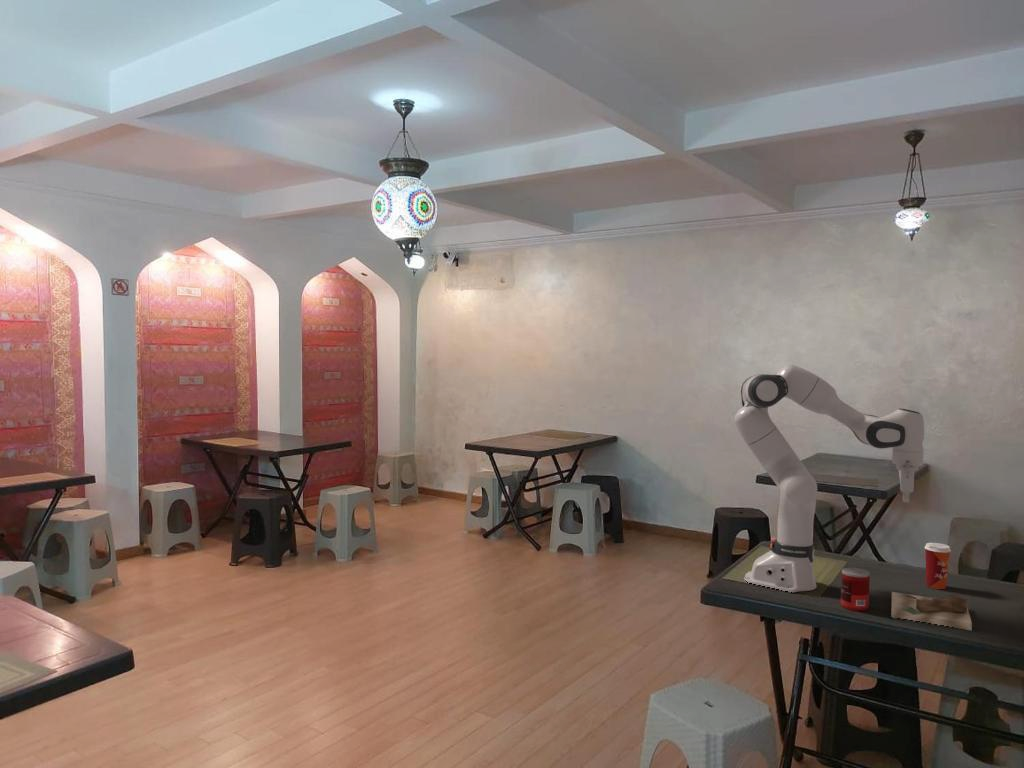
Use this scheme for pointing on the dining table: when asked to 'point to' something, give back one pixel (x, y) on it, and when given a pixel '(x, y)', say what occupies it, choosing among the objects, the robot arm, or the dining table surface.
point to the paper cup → (937, 564)
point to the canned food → (855, 589)
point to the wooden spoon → (943, 604)
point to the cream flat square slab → (927, 612)
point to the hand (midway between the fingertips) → (905, 501)
